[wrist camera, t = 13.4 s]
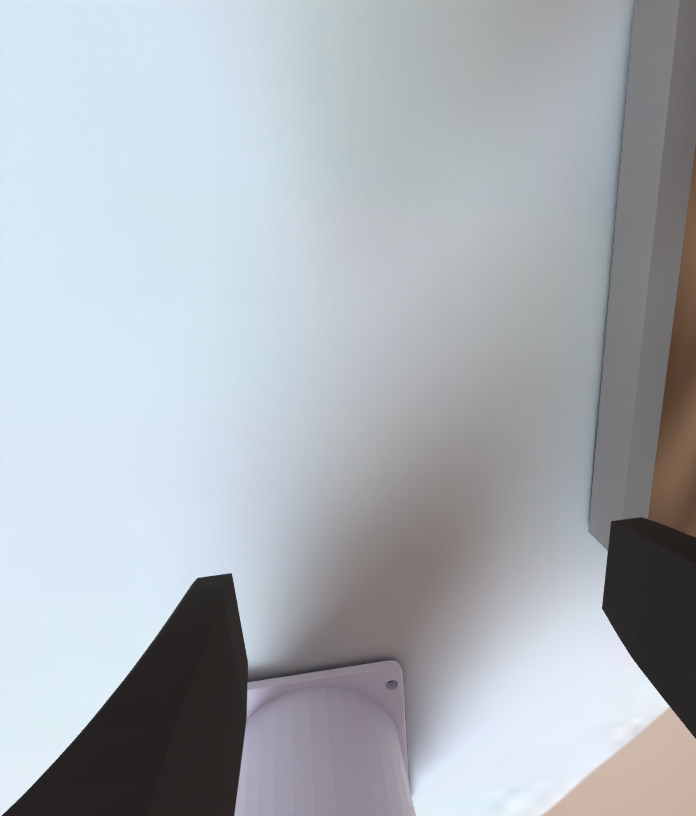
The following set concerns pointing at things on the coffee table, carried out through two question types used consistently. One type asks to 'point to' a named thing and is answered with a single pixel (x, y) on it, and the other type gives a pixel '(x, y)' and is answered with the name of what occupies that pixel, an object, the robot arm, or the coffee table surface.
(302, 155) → the coffee table surface
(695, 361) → the brown wooden bar
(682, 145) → the block
